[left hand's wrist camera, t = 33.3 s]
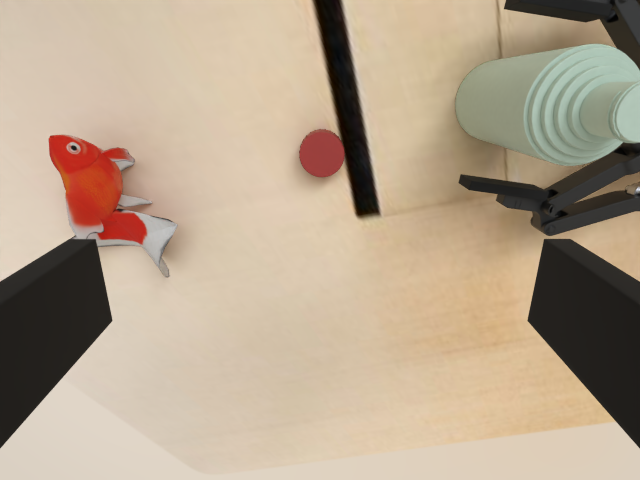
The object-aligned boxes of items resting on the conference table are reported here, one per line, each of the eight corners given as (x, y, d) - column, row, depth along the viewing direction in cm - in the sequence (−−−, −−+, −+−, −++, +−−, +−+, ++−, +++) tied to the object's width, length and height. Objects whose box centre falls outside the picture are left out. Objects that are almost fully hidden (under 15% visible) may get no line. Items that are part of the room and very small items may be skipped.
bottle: (504, 41, 37) (683, -5, 19) (547, 104, 39) (748, 118, 20) (439, 98, 39) (545, 106, 20) (483, 155, 40) (616, 211, 22)
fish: (165, 109, 34) (87, 183, 28) (222, 239, 46) (175, 313, 39) (67, 105, 38) (-23, 171, 31) (142, 228, 49) (86, 295, 42)
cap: (303, 125, 40) (301, 128, 37) (346, 132, 40) (348, 134, 37) (297, 169, 41) (296, 174, 39) (339, 175, 41) (341, 180, 39)
